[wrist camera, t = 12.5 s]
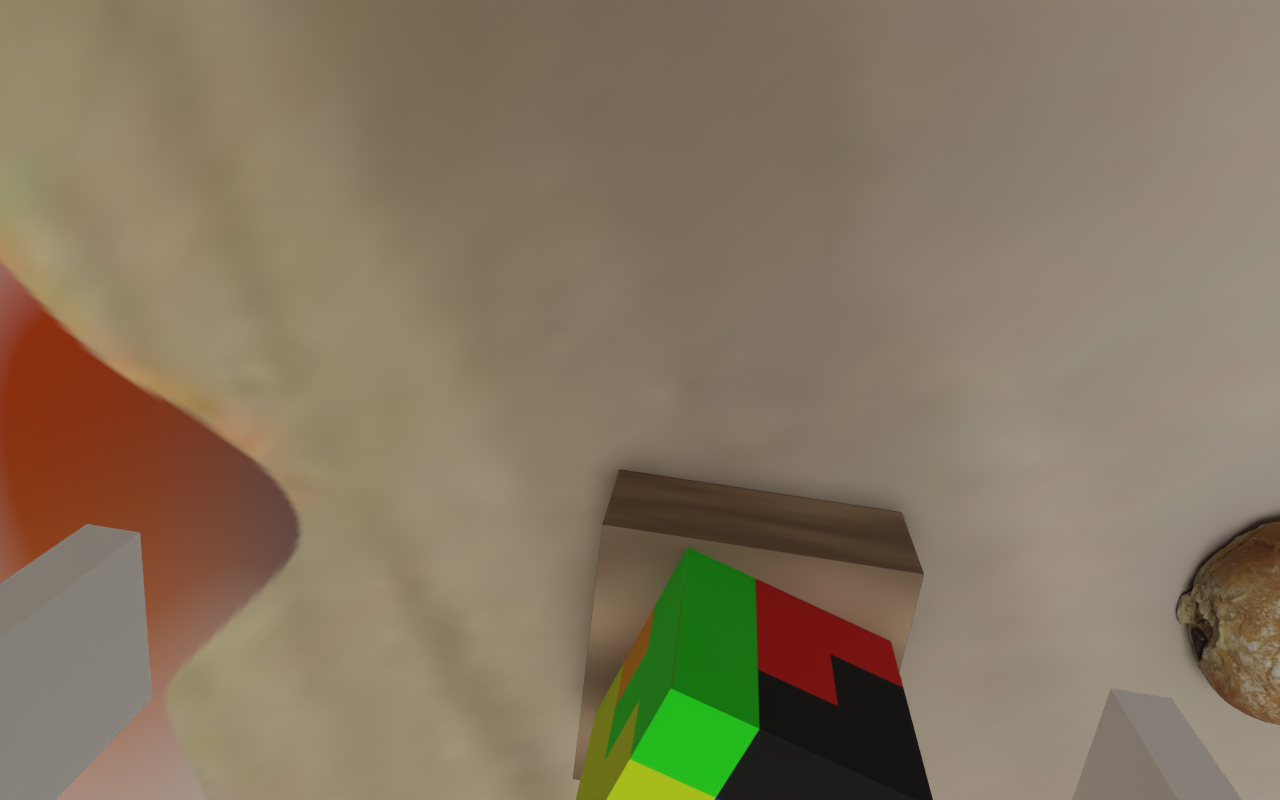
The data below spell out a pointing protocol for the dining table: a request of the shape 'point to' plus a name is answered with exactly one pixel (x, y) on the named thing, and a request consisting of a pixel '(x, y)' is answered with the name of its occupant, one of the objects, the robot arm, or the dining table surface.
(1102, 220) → the dining table surface
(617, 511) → the walnut plinth
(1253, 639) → the bread roll
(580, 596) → the dining table surface
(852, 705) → the puzzle toy
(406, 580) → the dining table surface
